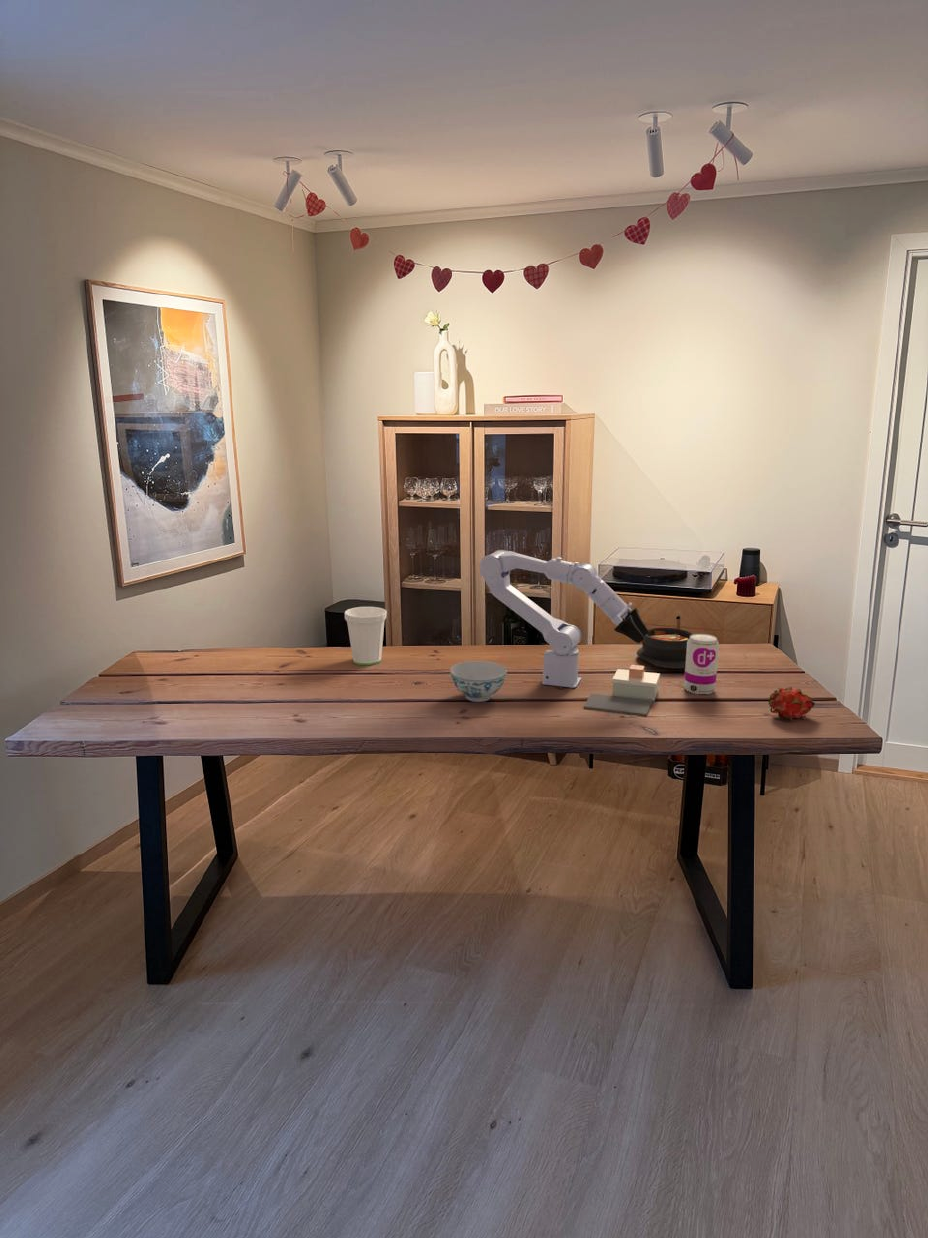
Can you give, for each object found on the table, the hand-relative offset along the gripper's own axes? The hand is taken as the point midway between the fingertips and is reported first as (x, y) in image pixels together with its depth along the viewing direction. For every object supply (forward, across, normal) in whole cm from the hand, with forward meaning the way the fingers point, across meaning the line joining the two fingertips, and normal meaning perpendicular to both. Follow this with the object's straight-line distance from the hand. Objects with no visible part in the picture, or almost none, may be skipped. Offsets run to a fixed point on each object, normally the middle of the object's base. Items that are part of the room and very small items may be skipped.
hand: (643, 637), depth 228 cm
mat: (+8, -11, +15) cm, 20 cm away
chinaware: (-19, -18, +39) cm, 47 cm away
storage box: (+10, 0, +12) cm, 16 cm away
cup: (-50, 0, +66) cm, 83 cm away
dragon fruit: (+39, -3, -14) cm, 41 cm away
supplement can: (+21, +8, +2) cm, 23 cm away
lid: (+7, -1, +10) cm, 12 cm away
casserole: (+12, +32, +9) cm, 35 cm away
